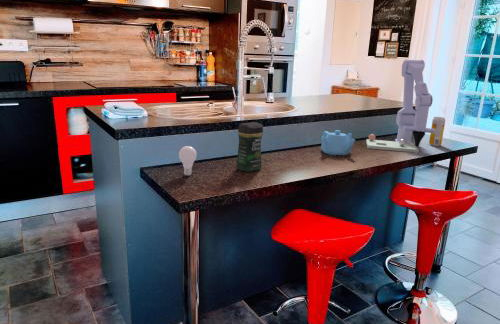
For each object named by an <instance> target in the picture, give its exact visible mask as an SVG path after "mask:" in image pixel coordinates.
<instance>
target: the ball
mask: <svg viewBox="0 0 500 324" xmlns="http://www.w3.org/2000/svg"><path fill="white" fill-rule="evenodd" d="M368 139H369V140H371V141H373V140H376V134H374V133H370V134H369V135H368Z"/></svg>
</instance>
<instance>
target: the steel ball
mask: <svg viewBox="0 0 500 324" xmlns="http://www.w3.org/2000/svg"><path fill="white" fill-rule="evenodd" d="M405 144H406V141H405V140H404V139H401V140H399V145H401V146H404V145H405Z"/></svg>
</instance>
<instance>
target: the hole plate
mask: <svg viewBox="0 0 500 324" xmlns="http://www.w3.org/2000/svg"><path fill="white" fill-rule="evenodd" d="M365 142H366V147H367V149H370V150H371V149H372V150H383V151H384V150H386V151H394V152H395V151H396V152H406V153H417V154H418V153H419V147H417V146H415V142H412V143H407V142H406V144H405V145H404V146H401V145H399V142H396V141H395V140H394V141H391V140H381V139H380V140H378V139H374V140H373V141H371V140H369V138H366V141H365Z"/></svg>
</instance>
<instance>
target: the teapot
mask: <svg viewBox="0 0 500 324" xmlns="http://www.w3.org/2000/svg"><path fill="white" fill-rule="evenodd" d="M341 132H342V131H341V130H338V129H335V130H334V132H330V131H327V130H325V131H323V133H322V135H321V136H320V140H321V146H320V150H321V151H322V152H323V153H325V154H326V155H331V156H336V155H339V157H341V156H340V155H343V156H347V155H349V154H350V153H351V151H352V147H353V146H354V143H355V142H356V139H354V138H353V136H352V135H353V133H350V132H349V133H347V134H346V133H343V132H342V133H341Z"/></svg>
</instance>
